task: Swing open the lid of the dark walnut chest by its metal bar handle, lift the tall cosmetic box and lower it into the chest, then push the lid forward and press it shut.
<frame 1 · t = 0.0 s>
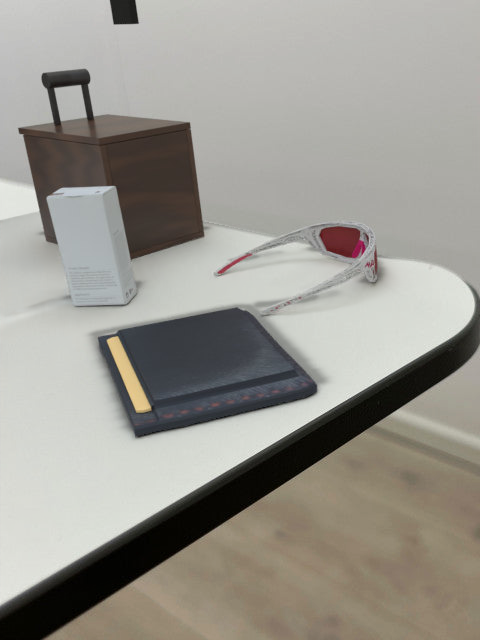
hand: (56, 28, 63), 27 cm above the table, tool pointing down, fingers open, 13 cm apart
chest: (125, 238, 106), on the table
sunglasses: (304, 282, 87), on the table
lid: (99, 102, 98), point 18 cm above the table, hinge at 0.0°
cosmetic box: (104, 302, 84), on the table
wallet: (200, 369, 67), on the table
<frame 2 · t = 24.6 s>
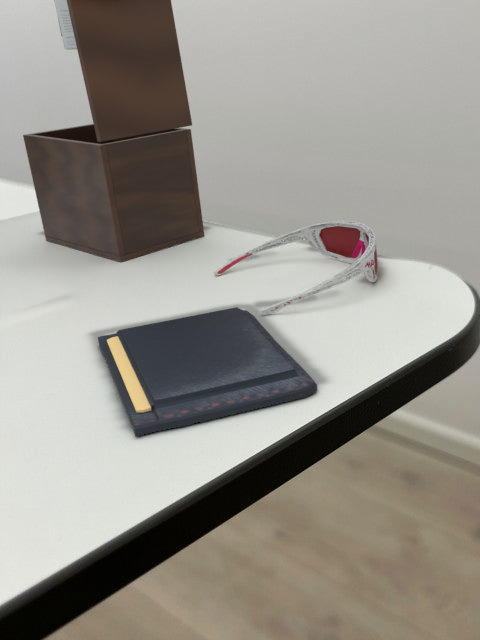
hand: (90, 35, 95), 26 cm above the table, tool pointing down, fingers closed on cosmetic box, 7 cm apart
lid: (147, 50, 89), point 24 cm above the table, hinge at 85.9°, touching gripper
cosmetic box: (92, 50, 95), point 24 cm above the table, touching gripper
everything else where it was.
when the fingers open (5 cm above the table, at t = 29.6 s): cosmetic box drops 2 cm, point 1 cm above the table.
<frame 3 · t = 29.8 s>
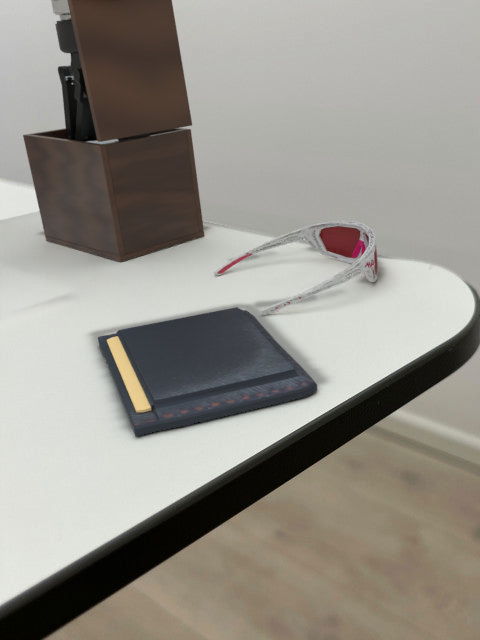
hand: (118, 200, 103), 5 cm above the table, tool pointing down, fingers open, 8 cm apart
lid: (148, 50, 89), point 24 cm above the table, hinge at 86.5°
cosmetic box: (122, 232, 105), point 1 cm above the table, touching gripper
everything else where it was.
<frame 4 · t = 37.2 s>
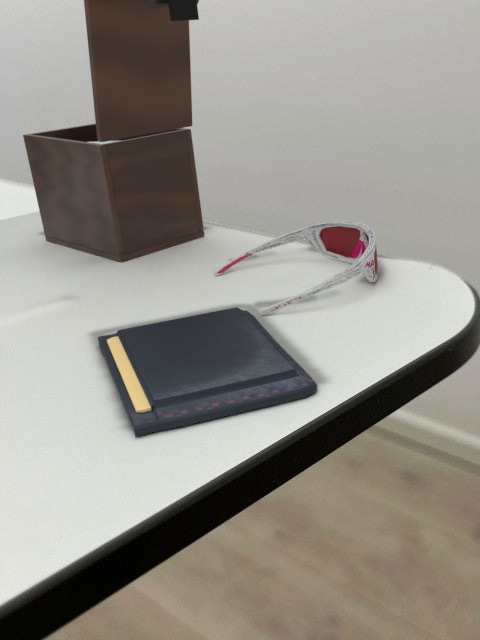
hand: (184, 20, 83), 27 cm above the table, tool pointing down, fingers closed
lid: (159, 58, 88), point 23 cm above the table, hinge at 98.6°, touching gripper
cosmetic box: (120, 233, 106), point 1 cm above the table, touching chest
everything else where it was.
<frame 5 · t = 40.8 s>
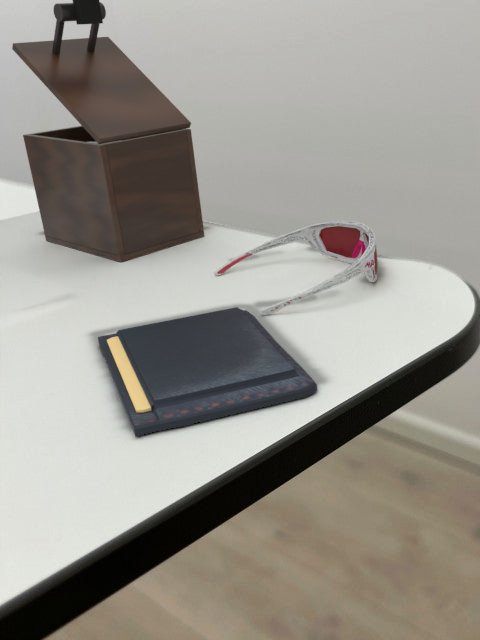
hand: (89, 23, 94), 27 cm above the table, tool pointing down, fingers closed
lid: (108, 64, 94), point 23 cm above the table, hinge at 33.9°, touching gripper
everything else where it was.
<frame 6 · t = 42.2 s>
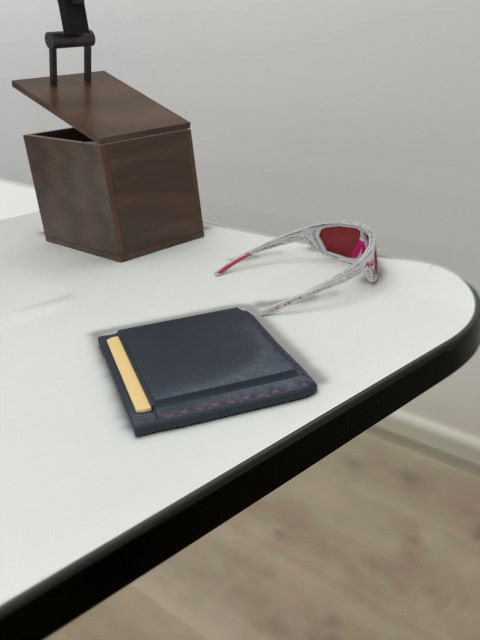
hand: (76, 33, 96), 26 cm above the table, tool pointing down, fingers closed
lid: (102, 79, 96), point 21 cm above the table, hinge at 18.7°, touching gripper
everything else where it was.
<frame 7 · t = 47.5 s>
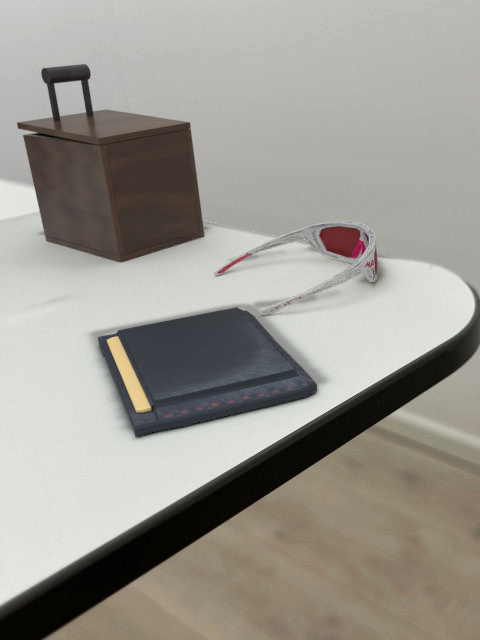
lid: (99, 99, 98), point 18 cm above the table, hinge at 2.1°
everything else where it was.
at the end: lid reached +102° during the clip, +2° at the end; cosmetic box inside the target area in the chest (0.9 cm from its centre), point 0.6 cm above the chest's base; lid at +2° (first picture: +0°) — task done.
